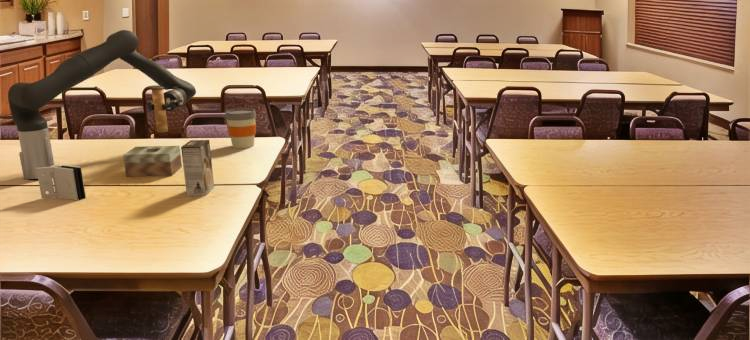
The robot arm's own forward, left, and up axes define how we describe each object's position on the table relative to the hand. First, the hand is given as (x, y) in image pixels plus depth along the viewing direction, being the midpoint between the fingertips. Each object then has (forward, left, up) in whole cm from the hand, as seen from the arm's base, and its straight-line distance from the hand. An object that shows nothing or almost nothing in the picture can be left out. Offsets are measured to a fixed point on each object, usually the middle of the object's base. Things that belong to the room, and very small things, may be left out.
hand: (157, 107), depth 214 cm
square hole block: (0, -10, -22) cm, 24 cm away
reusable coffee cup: (+25, +27, -22) cm, 43 cm away
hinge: (-19, -38, -22) cm, 48 cm away
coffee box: (+23, -35, -22) cm, 47 cm away
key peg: (0, +3, -9) cm, 10 cm away
